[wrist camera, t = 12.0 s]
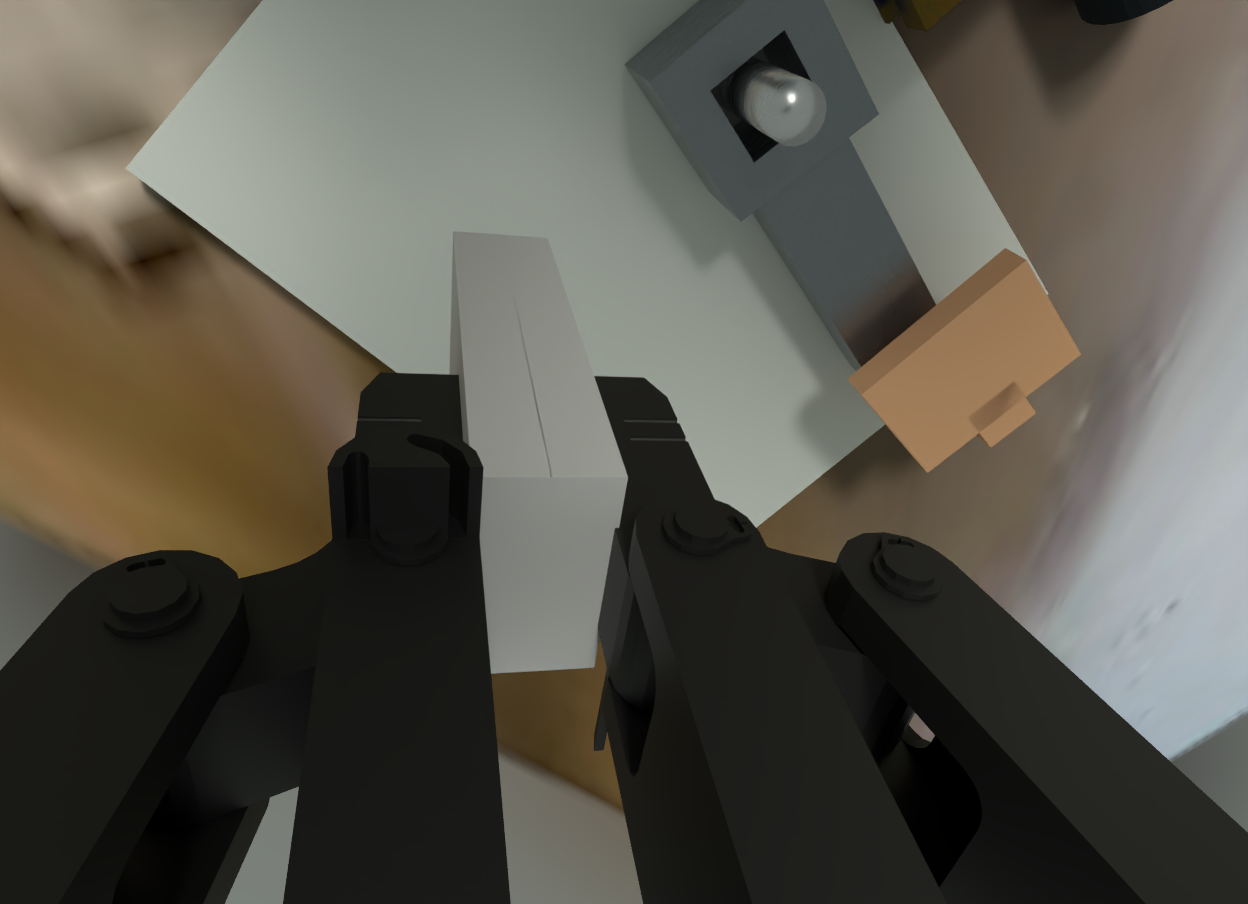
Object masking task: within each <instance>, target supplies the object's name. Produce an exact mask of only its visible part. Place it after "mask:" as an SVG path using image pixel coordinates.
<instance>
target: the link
mask: <svg viewBox="0 0 1248 904" xmlns="http://www.w3.org/2000/svg"><path fill="white" fill-rule="evenodd" d="M761 49H762V50H763V52H764V53H765V55H766V57H767V59H768V61H769V62H770V64H772V65H774V66H777V67H779V68H781V69H784V70H786V71H789V72H791V73H793V74H796V75H798V76H800V77H803V78H805V79H808V80H810V81H812V82H814V83H815V84H817V85H818V86H819V87H820V88H821V90H822V91H823V93H824V96H825V99H826V105H827V110H826V116H825V120H824V122H823V125H822V127H821V128H820V130H819V131H818V133H817V134H816V135H815V136H814V137H813V138H812V139H811V140H809V141H808V142H806V143H804V144H802V145H799V146H785V145H782V144H780V143H778V142H777V141H775V140H774V139H772V138H770V137H769V136H767V135H766V134H764V133H762V132H761V131H759V130H758V129H756V128H754V127H753V126H751V125H750V124H748V123H747V122H745V121H743V120H741V121H740V122H739V123H738V124H736V125H735V126H734V127H732V126H731V124H730V122H729V121H728V119H727V117H726V116H725V114H724V112H723V111H722V109H721V108H720V106H719V104H718V103H717V101H716V99H715V98H714V96H713V94H712V93H711V90H712V89H713V88H714V87H716V86H717V85H718V84H719V83H720V82H722V81H723V80H724V79H725V78H727V77H728V76H729V75H730V74H731V73H733V72H734V71H735V70H736V69H737V68H739V67H740V66H741V65H742V64H744V63H745V62H746V61H747V60H748V59H750V58H751V57H752V56H753V55H754V54H756V53H757V52H758V51H759V50H761ZM624 65H625V66H626V68H627V69H628V71H629V72H630V74H631V75H632V77H633V78H634V80H635V81H636V83H637V84H638V86H639V87H640V89H641V90H642V92H643V93H644V95H645V96H646V98H647V99H648V101H649V102H650V104H651V105H652V107H653V108H654V110H655V111H656V113H657V114H658V116H659V117H660V119H661V120H662V122H663V123H664V125H665V126H666V128H667V129H668V131H669V132H670V134H671V135H672V137H673V138H674V140H675V141H676V143H677V144H678V146H679V147H680V149H681V150H682V152H683V153H684V155H685V156H686V158H687V159H688V161H689V162H690V164H691V165H692V167H693V168H694V170H695V171H696V173H697V174H698V176H699V177H700V179H701V180H702V182H703V183H704V185H705V186H706V188H707V189H708V191H709V192H710V193H711V194H712V195H713V196H714V197H715V198H716V199H717V200H718V201H719V202H720V203H721V204H722V205H723V206H725V207H726V208H727V209H728V210H729V211H730V212H731V213H732V214H733V215H734V216H735V217H736V218H737V219H738V220H739V221H740V222H741V221H743V220H744V219H745V218H747V217H748V216H749V215H750V214H752V213H753V214H754V216H755V217H756V219H757V220H758V222H759V224H760V225H761V227H762V228H763V230H764V231H765V233H766V234H767V236H768V238H769V239H770V241H771V242H772V244H773V245H774V247H775V249H776V250H777V252H778V253H779V255H780V256H781V258H782V259H783V261H784V263H785V264H786V266H787V267H788V269H789V270H790V272H791V274H792V275H793V277H794V278H795V280H796V281H797V283H798V284H799V286H800V288H801V289H802V291H803V292H804V294H805V295H806V297H807V299H808V300H809V302H810V303H811V305H812V306H813V308H814V310H815V311H816V313H817V314H818V316H819V317H820V319H821V320H822V322H823V324H824V325H825V327H826V328H827V330H828V331H829V333H830V335H831V336H832V338H833V339H834V341H835V342H836V344H837V345H838V347H839V349H840V350H841V352H842V353H843V355H844V356H845V358H846V360H847V361H848V363H849V364H850V365H851V366H852V368H853V369H854V370H855V371H857V370H858V369H860V368H861V367H862V366H863V365H864V364H866V363H867V362H868V361H869V360H871V359H872V358H873V357H874V356H875V355H877V354H878V353H879V352H880V351H881V350H883V349H884V348H885V347H886V346H887V345H889V344H890V343H891V342H892V341H893V340H895V339H896V338H897V337H898V336H899V335H901V334H902V333H903V332H904V331H906V330H907V329H908V328H909V327H910V326H912V325H913V324H914V323H915V322H916V321H918V320H919V319H920V318H921V317H922V316H924V315H925V314H926V313H927V312H928V311H930V310H931V309H932V308H933V307H935V306H936V303H935V302H934V300H933V298H932V296H931V294H930V292H929V290H928V288H927V286H926V284H925V282H924V280H923V278H922V277H921V275H920V273H919V271H918V269H917V267H916V265H915V263H914V261H913V259H912V257H911V255H910V254H909V252H908V250H907V248H906V246H905V244H904V242H903V240H902V238H901V236H900V234H899V232H898V230H897V229H896V227H895V225H894V223H893V221H892V219H891V217H890V215H889V213H888V211H887V209H886V207H885V206H884V204H883V202H882V200H881V198H880V196H879V194H878V192H877V190H876V188H875V186H874V184H873V182H872V181H871V179H870V177H869V175H868V173H867V171H866V169H865V167H864V165H863V163H862V161H861V159H860V158H859V156H858V154H857V152H856V150H855V148H854V146H853V144H852V142H851V140H850V138H849V137H851V136H852V135H853V134H854V133H856V132H857V131H858V130H859V129H861V128H862V127H863V126H865V125H866V124H867V123H868V122H870V121H871V120H872V119H874V118H875V117H876V116H877V115H879V113H878V111H877V108H876V106H875V104H874V102H873V100H872V98H871V96H870V94H869V92H868V90H867V88H866V86H865V84H864V82H863V80H862V78H861V76H860V74H859V72H858V69H857V67H856V65H855V63H854V61H853V59H852V57H851V55H850V53H849V51H848V49H847V47H846V45H845V43H844V41H843V39H842V37H841V35H840V32H839V30H838V28H837V26H836V24H835V22H834V20H833V18H832V16H831V14H830V12H829V10H828V8H827V6H826V4H825V2H824V0H699V1H698V2H697V3H696V4H695V5H693V6H692V7H691V8H690V9H689V10H687V11H686V12H685V13H684V14H683V15H682V16H680V17H679V18H678V19H677V20H676V21H675V22H673V23H672V24H671V25H670V26H669V27H668V28H666V29H665V30H664V31H663V32H662V33H660V34H659V35H658V36H657V37H656V38H655V39H653V40H652V41H651V42H650V43H649V44H648V45H646V46H645V47H644V48H643V49H642V50H641V51H639V52H638V53H637V54H636V55H635V56H633V57H632V58H631V59H630V60H629V61H628V62H626V63H625V64H624Z"/></svg>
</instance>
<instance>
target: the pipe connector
mask: <svg viewBox="0 0 1248 904" xmlns="http://www.w3.org/2000/svg"><path fill="white" fill-rule="evenodd" d="M873 1H874V3H875V5H876V7H877V9H878V11H879V13H880V15H881V17H882V18H883V20H884V22H885V23H886V24H890V23H891V22H893V21H894V20H895V19H896V18H897V17H898V16H899V15H900V14H901V16H902V18H903V20H904V22H905V24H906V26H907V28H912V29H918V30H923V31H928V30H929V29H930V28H931V27H932V26H933V25H934V24H935V23H937V22H938V21H939V20H940V19H941V18H942V17H943V16H945V15H946V14H947V13H948V12H949V11H950V10H951V9H952V8H954V7H955V6H956V5H957V4H958V3H959V2H960V1H962V0H873ZM1074 1H1075V3H1076V6H1077V9H1078V12H1079V14H1080V16H1081V19H1083V20H1084V21H1085V22H1087V23H1091V24H1097V25H1105V24H1113V23H1118V22H1122V21H1126V20H1130V19H1133V18H1136V17H1138V16H1141V15H1144V14H1146V13H1148V12H1151V11H1153V10H1155V9H1157V8H1160V7H1161V6H1163V5H1165V4H1167V3H1169V2H1171V1H1173V0H1074Z"/></svg>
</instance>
